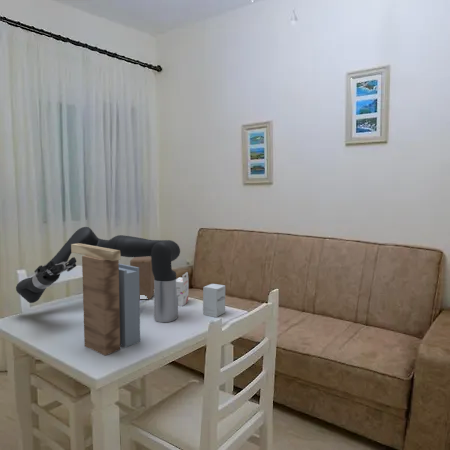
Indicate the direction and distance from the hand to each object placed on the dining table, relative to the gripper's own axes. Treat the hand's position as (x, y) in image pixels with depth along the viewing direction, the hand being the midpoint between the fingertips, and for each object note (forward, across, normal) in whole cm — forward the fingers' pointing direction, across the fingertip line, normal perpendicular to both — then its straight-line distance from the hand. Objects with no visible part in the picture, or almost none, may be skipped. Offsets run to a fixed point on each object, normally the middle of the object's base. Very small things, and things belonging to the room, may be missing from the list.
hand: (64, 261), depth 143 cm
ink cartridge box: (-6, +54, +28) cm, 61 cm away
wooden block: (-26, +49, +17) cm, 58 cm away
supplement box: (+12, +52, +39) cm, 66 cm away
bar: (+19, 0, +6) cm, 20 cm away
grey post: (+6, +8, +35) cm, 37 cm away
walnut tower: (+6, 0, +35) cm, 36 cm away
